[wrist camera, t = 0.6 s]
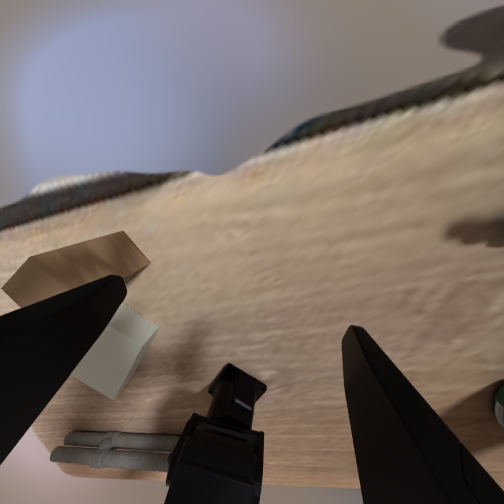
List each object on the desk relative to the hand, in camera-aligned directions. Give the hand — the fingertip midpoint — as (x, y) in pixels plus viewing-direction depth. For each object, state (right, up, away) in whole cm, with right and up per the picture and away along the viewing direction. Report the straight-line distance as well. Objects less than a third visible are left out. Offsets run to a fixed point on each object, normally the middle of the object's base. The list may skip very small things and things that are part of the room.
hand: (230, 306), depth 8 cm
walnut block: (-15, +1, +19) cm, 24 cm away
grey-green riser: (-20, -10, +23) cm, 32 cm away
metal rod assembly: (-21, -31, +30) cm, 48 cm away
